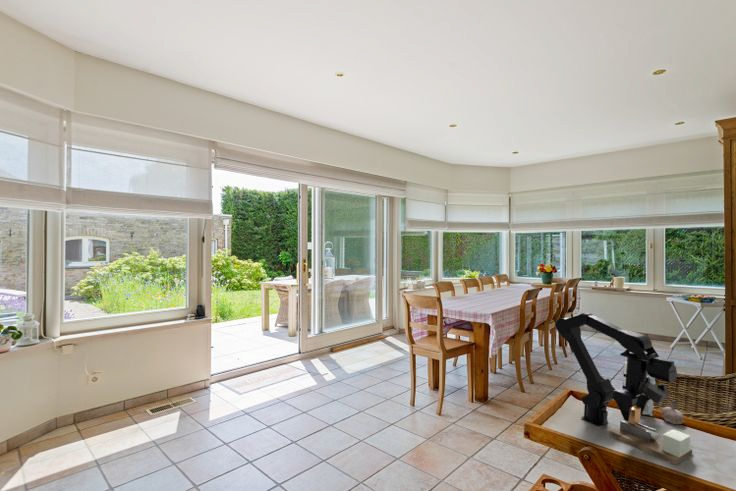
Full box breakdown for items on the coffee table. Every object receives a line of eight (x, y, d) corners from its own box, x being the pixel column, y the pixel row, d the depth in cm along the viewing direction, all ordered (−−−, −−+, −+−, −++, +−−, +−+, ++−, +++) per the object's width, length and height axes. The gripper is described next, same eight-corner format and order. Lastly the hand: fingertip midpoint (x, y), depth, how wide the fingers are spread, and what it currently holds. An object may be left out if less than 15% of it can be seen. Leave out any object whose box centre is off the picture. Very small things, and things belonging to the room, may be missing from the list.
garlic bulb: (670, 415, 149) (671, 395, 149) (690, 425, 142) (692, 403, 142) (655, 417, 147) (656, 396, 147) (674, 427, 140) (676, 405, 140)
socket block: (661, 450, 121) (663, 434, 121) (671, 444, 125) (673, 429, 125) (679, 457, 117) (680, 441, 117) (689, 451, 121) (690, 435, 121)
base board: (608, 434, 132) (609, 430, 132) (626, 426, 139) (626, 422, 139) (675, 464, 116) (675, 459, 116) (691, 454, 122) (692, 449, 122)
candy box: (654, 416, 147) (657, 374, 147) (636, 414, 148) (639, 372, 148) (636, 401, 161) (639, 362, 160) (620, 399, 162) (623, 360, 161)
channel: (619, 429, 133) (620, 420, 133) (625, 427, 135) (626, 418, 135) (649, 442, 125) (650, 432, 125) (655, 439, 127) (656, 429, 127)
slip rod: (619, 427, 133) (621, 405, 133) (625, 425, 135) (627, 403, 135) (653, 441, 125) (655, 418, 124) (659, 438, 127) (660, 415, 126)
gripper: (650, 385, 119) (646, 435, 120) (677, 376, 129) (673, 422, 129) (612, 373, 128) (609, 419, 129) (639, 365, 138) (636, 408, 139)
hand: (633, 417), depth 131 cm, fingers open, 9 cm apart
